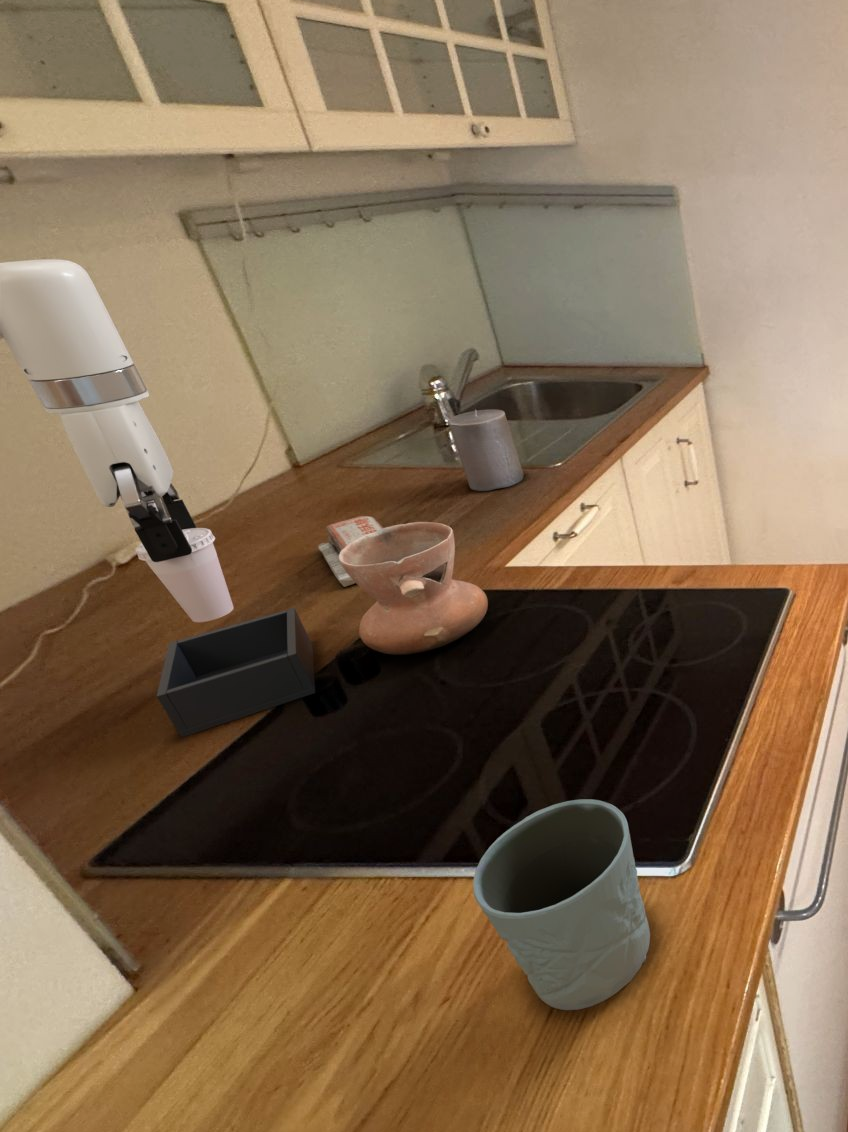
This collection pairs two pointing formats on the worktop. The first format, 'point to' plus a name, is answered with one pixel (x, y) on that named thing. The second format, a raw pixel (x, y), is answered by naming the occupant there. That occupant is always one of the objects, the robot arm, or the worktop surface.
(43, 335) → the robot arm
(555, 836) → the embossed green plant pot
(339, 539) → the packaged product
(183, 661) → the bin
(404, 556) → the pink clay vessel
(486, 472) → the pillar candle
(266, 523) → the worktop surface
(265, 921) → the worktop surface
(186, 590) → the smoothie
